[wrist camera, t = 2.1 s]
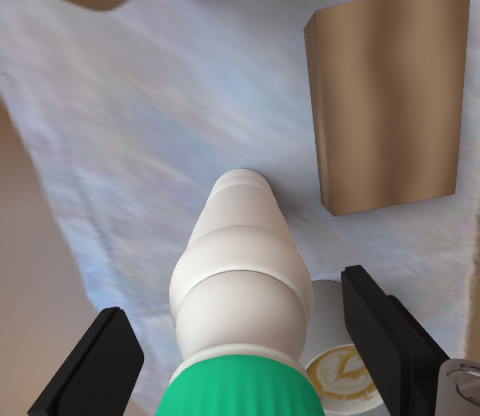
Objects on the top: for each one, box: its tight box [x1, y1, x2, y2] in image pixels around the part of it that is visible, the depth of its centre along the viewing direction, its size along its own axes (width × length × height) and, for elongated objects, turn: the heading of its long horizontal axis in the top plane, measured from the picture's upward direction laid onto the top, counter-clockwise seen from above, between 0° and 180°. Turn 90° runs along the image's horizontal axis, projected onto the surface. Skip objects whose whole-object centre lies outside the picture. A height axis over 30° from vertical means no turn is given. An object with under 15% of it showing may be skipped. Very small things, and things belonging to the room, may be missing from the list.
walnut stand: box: [304, 0, 470, 216], centre depth 24 cm, size 12×18×4 cm, turn 12°
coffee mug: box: [298, 280, 383, 415], centre depth 29 cm, size 13×10×10 cm
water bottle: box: [155, 169, 325, 416], centre depth 17 cm, size 7×7×25 cm
